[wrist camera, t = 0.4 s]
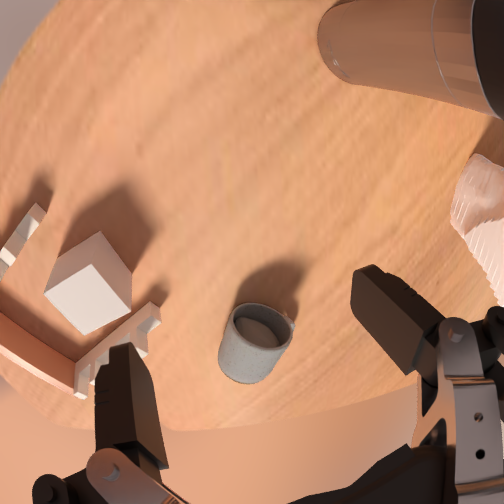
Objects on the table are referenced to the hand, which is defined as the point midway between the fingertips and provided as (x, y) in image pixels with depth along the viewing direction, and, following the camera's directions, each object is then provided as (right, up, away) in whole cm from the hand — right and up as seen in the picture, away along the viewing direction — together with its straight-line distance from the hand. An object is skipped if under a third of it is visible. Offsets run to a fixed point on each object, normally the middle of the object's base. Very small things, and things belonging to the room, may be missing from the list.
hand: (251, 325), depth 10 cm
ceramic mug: (0, -7, +30) cm, 30 cm away
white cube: (-16, +1, +19) cm, 25 cm away
